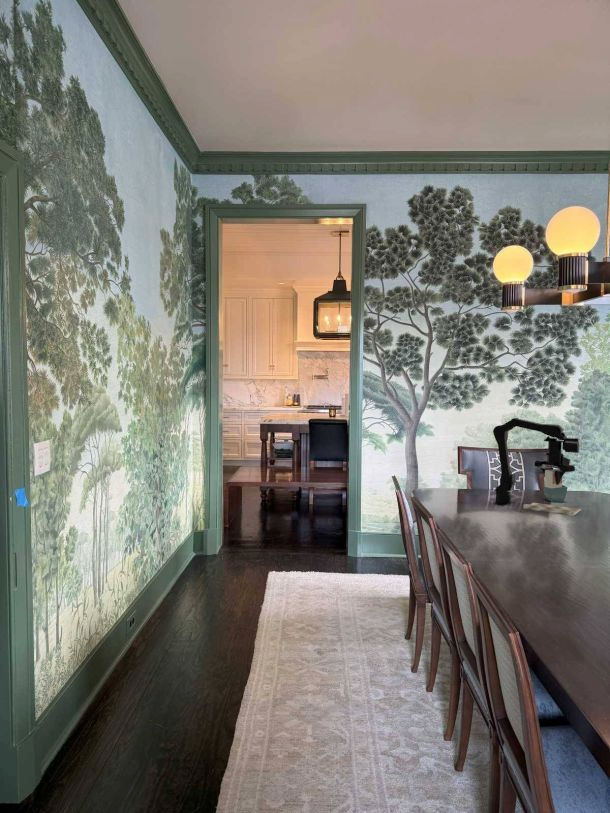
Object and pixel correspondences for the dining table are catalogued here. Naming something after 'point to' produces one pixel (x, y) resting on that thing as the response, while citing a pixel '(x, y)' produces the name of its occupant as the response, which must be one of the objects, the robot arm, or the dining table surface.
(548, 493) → the flower pot
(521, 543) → the dining table surface
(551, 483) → the carton
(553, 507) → the shelf board
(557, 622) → the dining table surface
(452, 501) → the dining table surface
